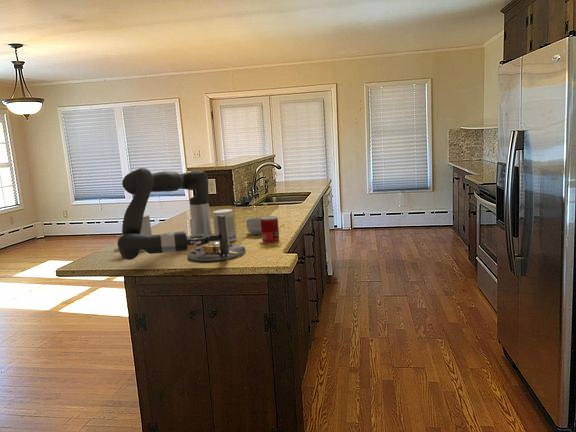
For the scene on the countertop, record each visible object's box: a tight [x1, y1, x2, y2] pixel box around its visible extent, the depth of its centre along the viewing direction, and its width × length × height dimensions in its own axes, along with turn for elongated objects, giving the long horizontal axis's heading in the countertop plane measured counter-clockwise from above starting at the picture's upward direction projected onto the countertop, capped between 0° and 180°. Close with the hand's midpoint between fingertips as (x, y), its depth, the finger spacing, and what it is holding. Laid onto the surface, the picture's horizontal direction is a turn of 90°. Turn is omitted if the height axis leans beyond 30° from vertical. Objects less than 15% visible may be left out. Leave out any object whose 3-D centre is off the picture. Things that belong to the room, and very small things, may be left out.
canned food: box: [261, 215, 280, 243], centre depth 213 cm, size 8×8×11 cm
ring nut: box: [202, 215, 231, 257], centre depth 189 cm, size 20×11×16 cm, turn 23°
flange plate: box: [187, 241, 246, 263], centre depth 194 cm, size 24×24×5 cm
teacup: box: [245, 216, 263, 235], centre depth 232 cm, size 14×11×8 cm
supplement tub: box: [212, 208, 237, 243], centre depth 219 cm, size 10×10×15 cm
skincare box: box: [139, 214, 153, 252], centre depth 213 cm, size 8×7×16 cm
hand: (219, 237), depth 179 cm, fingers closed
